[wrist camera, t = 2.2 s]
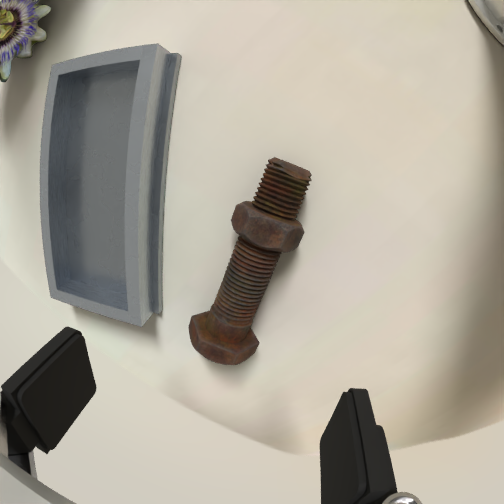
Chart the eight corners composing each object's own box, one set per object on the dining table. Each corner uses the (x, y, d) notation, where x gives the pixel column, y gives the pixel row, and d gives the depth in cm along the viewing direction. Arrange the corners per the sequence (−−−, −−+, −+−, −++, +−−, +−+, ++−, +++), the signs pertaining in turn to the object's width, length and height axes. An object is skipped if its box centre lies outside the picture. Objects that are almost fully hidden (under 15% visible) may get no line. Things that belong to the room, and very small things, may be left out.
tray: (181, 55, 19) (165, 42, 15) (162, 309, 26) (147, 328, 23) (70, 71, 20) (48, 66, 16) (66, 283, 27) (47, 296, 24)
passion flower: (71, 46, 23) (9, 88, 16) (15, 56, 22) (-43, 100, 15) (72, -32, 14) (-1, -13, 7) (11, -11, 13) (-56, 20, 6)
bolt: (299, 168, 22) (235, 324, 27) (243, 146, 20) (184, 319, 24) (345, 186, 17) (259, 368, 22) (280, 158, 15) (199, 368, 20)
